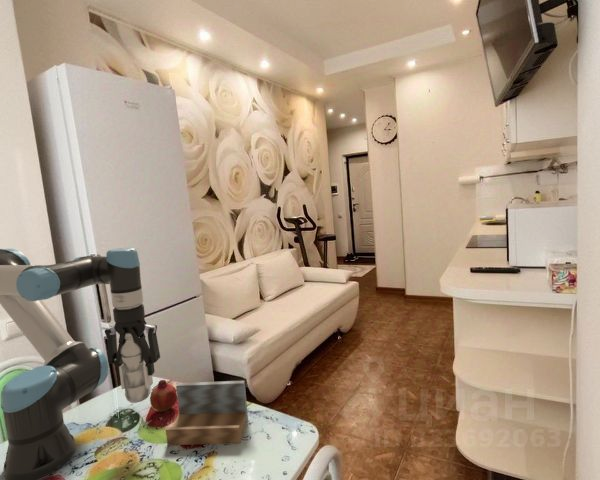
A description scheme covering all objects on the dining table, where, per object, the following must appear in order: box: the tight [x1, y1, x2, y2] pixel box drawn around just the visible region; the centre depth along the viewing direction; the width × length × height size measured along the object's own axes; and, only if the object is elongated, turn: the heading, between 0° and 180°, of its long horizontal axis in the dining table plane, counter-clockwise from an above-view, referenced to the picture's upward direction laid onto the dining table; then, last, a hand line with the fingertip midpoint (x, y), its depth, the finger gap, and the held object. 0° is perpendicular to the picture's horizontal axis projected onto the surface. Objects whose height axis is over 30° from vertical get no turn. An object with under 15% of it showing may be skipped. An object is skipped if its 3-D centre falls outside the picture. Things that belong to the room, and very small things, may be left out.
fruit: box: [149, 379, 178, 412], centre depth 111 cm, size 8×8×10 cm
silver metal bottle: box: [120, 333, 152, 404], centre depth 96 cm, size 6×7×20 cm
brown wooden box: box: [165, 380, 249, 446], centre depth 98 cm, size 20×10×12 cm, turn 87°
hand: (137, 385), depth 97 cm, fingers closed on silver metal bottle, 6 cm apart
